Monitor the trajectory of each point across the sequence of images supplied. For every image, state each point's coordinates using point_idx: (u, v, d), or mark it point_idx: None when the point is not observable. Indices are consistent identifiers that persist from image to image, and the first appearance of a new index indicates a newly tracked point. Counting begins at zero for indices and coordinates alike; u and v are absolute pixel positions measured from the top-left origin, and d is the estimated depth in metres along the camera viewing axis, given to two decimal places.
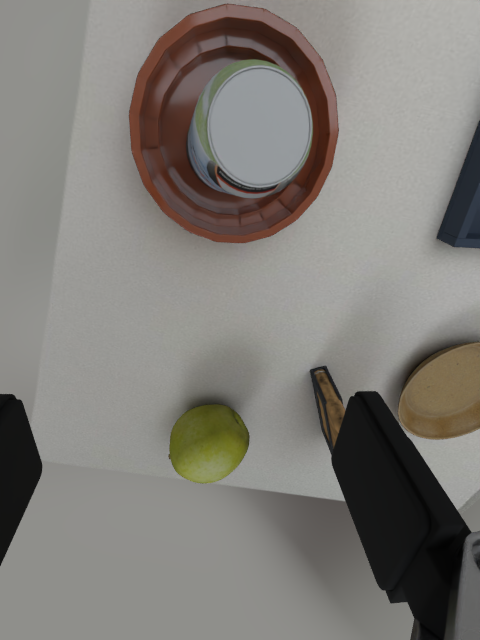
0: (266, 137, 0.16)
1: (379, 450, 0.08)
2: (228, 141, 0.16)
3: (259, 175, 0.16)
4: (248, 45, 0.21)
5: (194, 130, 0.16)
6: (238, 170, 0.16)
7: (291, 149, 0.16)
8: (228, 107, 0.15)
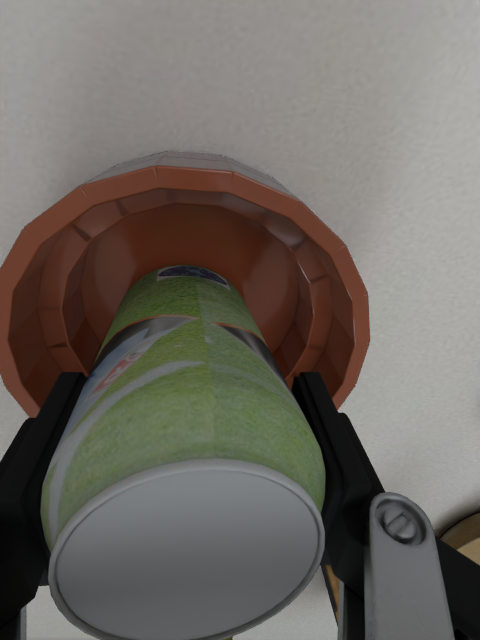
0: (212, 573, 0.06)
1: (310, 423, 0.09)
2: (113, 598, 0.06)
3: (198, 627, 0.07)
4: (211, 201, 0.12)
5: None
6: (145, 631, 0.07)
7: (273, 579, 0.07)
8: (105, 544, 0.06)
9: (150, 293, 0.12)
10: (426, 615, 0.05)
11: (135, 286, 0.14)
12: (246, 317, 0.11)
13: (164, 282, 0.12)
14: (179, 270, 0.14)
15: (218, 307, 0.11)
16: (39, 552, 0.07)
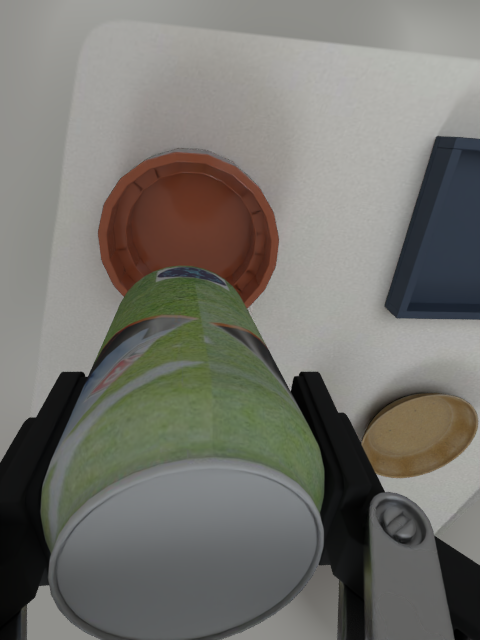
0: (211, 572, 0.06)
1: (310, 423, 0.09)
2: (113, 597, 0.06)
3: (198, 626, 0.07)
4: (199, 171, 0.25)
5: None
6: (145, 631, 0.07)
7: (272, 578, 0.07)
8: (105, 544, 0.06)
9: (149, 293, 0.12)
10: (425, 615, 0.05)
11: (134, 287, 0.14)
12: (245, 317, 0.11)
13: (163, 283, 0.12)
14: (178, 271, 0.14)
15: (217, 307, 0.11)
16: (39, 552, 0.07)
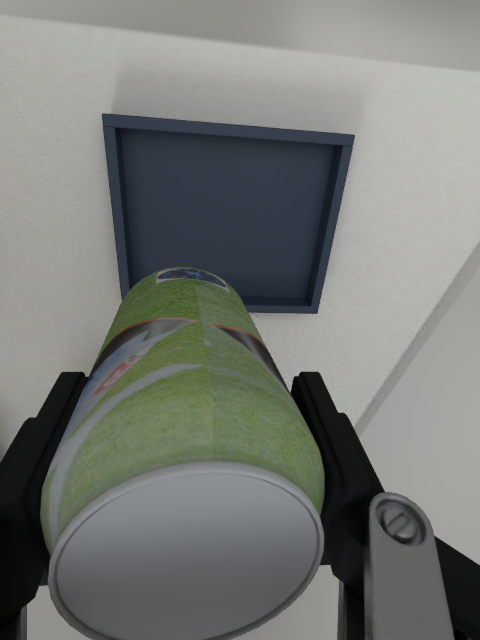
0: (211, 576, 0.06)
1: (310, 423, 0.09)
2: (113, 601, 0.06)
3: (198, 629, 0.07)
4: None
5: None
6: (145, 634, 0.07)
7: (272, 581, 0.07)
8: (104, 548, 0.06)
9: (149, 295, 0.12)
10: (426, 615, 0.05)
11: (134, 289, 0.14)
12: (245, 319, 0.11)
13: (163, 285, 0.12)
14: (178, 272, 0.14)
15: (217, 309, 0.11)
16: (38, 552, 0.07)
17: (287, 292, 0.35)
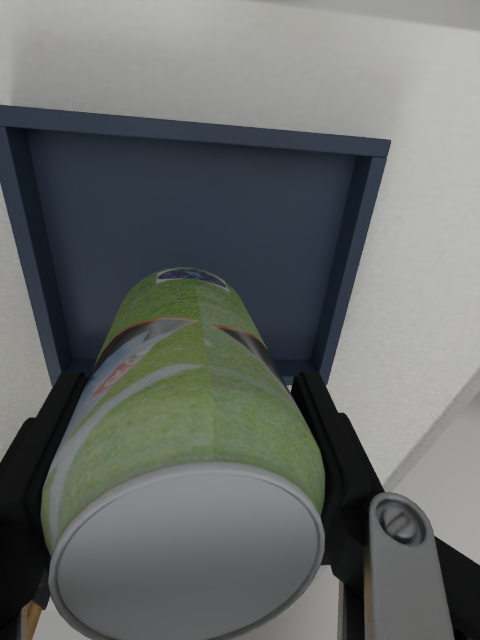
0: (211, 576, 0.06)
1: (310, 423, 0.09)
2: (113, 601, 0.06)
3: (198, 630, 0.07)
4: None
5: (43, 532, 0.07)
6: (146, 634, 0.07)
7: (273, 582, 0.07)
8: (105, 549, 0.06)
9: (149, 295, 0.12)
10: (426, 615, 0.05)
11: (134, 289, 0.14)
12: (245, 319, 0.11)
13: (163, 285, 0.12)
14: (178, 273, 0.14)
15: (217, 309, 0.11)
16: (39, 552, 0.07)
17: (286, 353, 0.25)
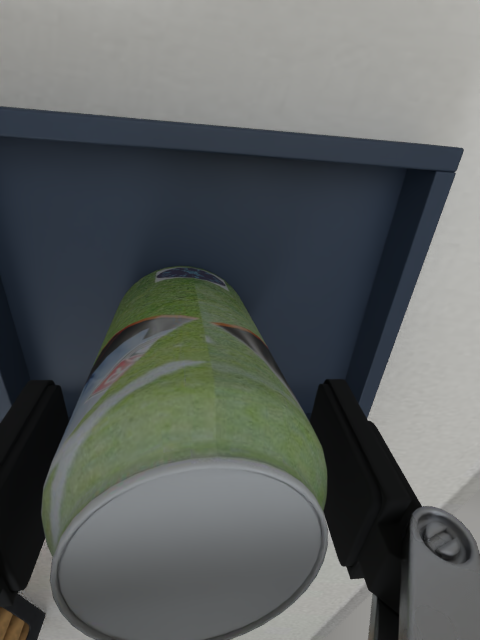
0: (215, 574, 0.06)
1: (341, 433, 0.09)
2: (115, 600, 0.06)
3: (201, 628, 0.07)
4: None
5: (44, 531, 0.07)
6: (148, 633, 0.07)
7: (276, 579, 0.07)
8: (107, 546, 0.06)
9: (148, 294, 0.12)
10: None
11: (133, 288, 0.14)
12: (245, 317, 0.11)
13: (162, 283, 0.12)
14: (177, 271, 0.14)
15: (217, 307, 0.11)
16: None
17: (305, 406, 0.21)
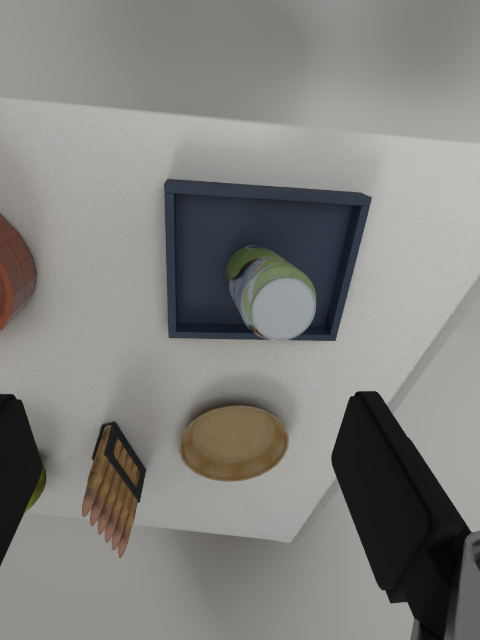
0: (287, 313, 0.25)
1: (379, 450, 0.08)
2: (263, 317, 0.25)
3: (282, 333, 0.26)
4: None
5: (241, 306, 0.26)
6: (269, 332, 0.26)
7: (302, 318, 0.26)
8: (264, 299, 0.25)
9: (250, 253, 0.31)
10: None
11: (237, 253, 0.33)
12: None
13: (253, 250, 0.32)
14: (256, 246, 0.33)
15: (278, 256, 0.30)
16: None
17: None
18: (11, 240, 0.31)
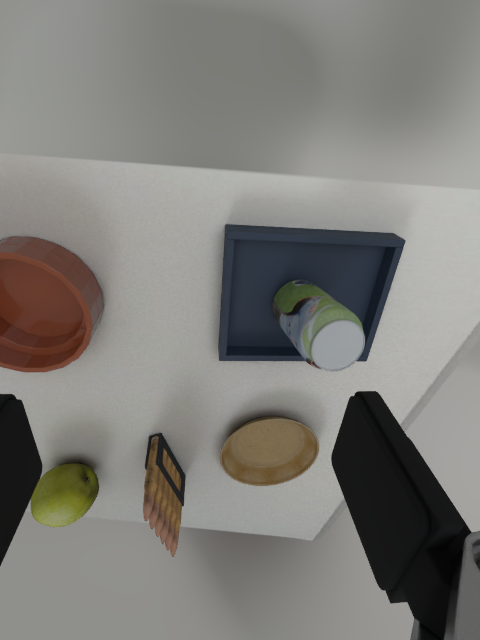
0: (341, 349, 0.30)
1: (379, 450, 0.08)
2: (321, 352, 0.29)
3: (335, 365, 0.30)
4: None
5: (301, 342, 0.30)
6: (325, 364, 0.30)
7: (353, 353, 0.30)
8: (323, 338, 0.29)
9: (299, 290, 0.35)
10: None
11: (284, 288, 0.37)
12: None
13: (301, 286, 0.36)
14: (301, 282, 0.37)
15: (326, 294, 0.34)
16: None
17: None
18: (88, 279, 0.35)
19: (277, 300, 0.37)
